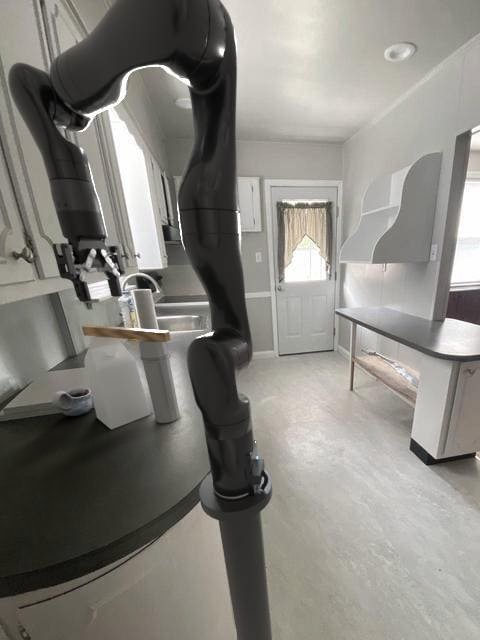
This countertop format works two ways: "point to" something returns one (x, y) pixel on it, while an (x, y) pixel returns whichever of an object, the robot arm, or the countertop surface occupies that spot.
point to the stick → (126, 333)
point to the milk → (114, 382)
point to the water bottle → (159, 380)
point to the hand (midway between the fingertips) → (102, 298)
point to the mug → (73, 401)
